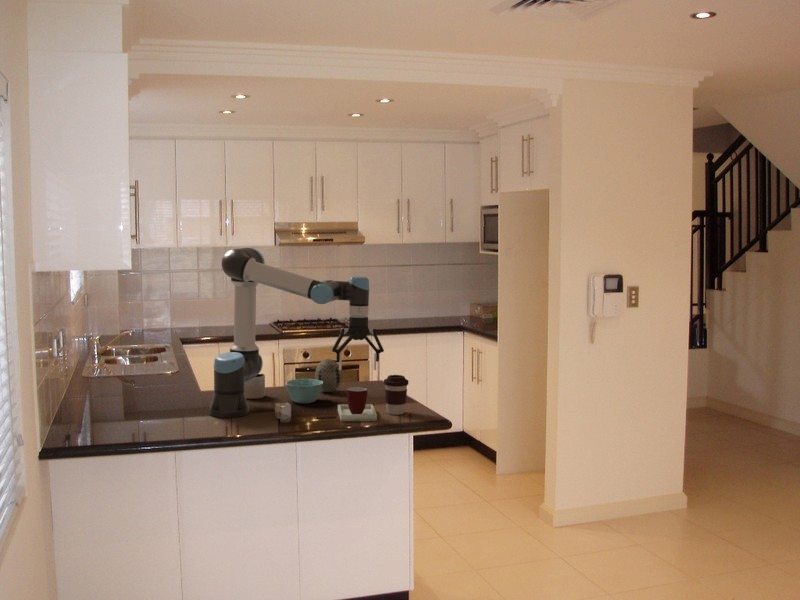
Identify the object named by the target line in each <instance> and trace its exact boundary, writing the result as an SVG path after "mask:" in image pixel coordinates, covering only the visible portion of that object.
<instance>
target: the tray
mask: <svg viewBox="0 0 800 600" xmlns="http://www.w3.org/2000/svg"><path fill="white" fill-rule="evenodd" d="M337 413H338V417H339V419H340V422H377V421H378V414H377V412H376V410H375V407H374V405H373V404H368V403H366V405H365V409H364V411H363V413H362V414H351V412H350V410H349V407H348V404H337Z"/></svg>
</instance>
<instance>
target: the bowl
mask: <svg viewBox="0 0 800 600" xmlns="http://www.w3.org/2000/svg"><path fill="white" fill-rule="evenodd" d="M322 385H323V381H321V380H316V379H315V378H297V379H290V380H288V381H285V387H286V390H287V392H288V394H289V397H290V400H292V401H293V402H294V403H295V404H311V403H314V402H316V401H317V400H318V399H319V396H320V393H321V391H322V390H321V388H322Z"/></svg>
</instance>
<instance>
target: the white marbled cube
mask: <svg viewBox="0 0 800 600" xmlns="http://www.w3.org/2000/svg"><path fill="white" fill-rule="evenodd" d="M281 405H291V404H290V403H289V402H276V403H275V404H274V416H275V418H277V419H280V408H281Z"/></svg>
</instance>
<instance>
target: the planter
mask: <svg viewBox="0 0 800 600" xmlns="http://www.w3.org/2000/svg"><path fill="white" fill-rule="evenodd" d="M244 395H245V398H246V400H259V399H262V398H264V397H265V396H266V375H265V373H261V372H260V373H259V374H258V375H257V376H255V377H254V378H253V379H251V380H247V381H245V382H244Z"/></svg>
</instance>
